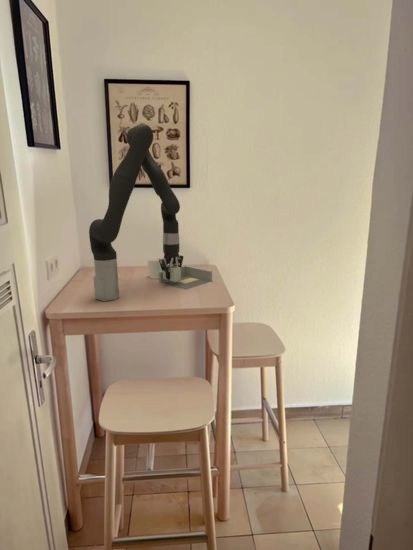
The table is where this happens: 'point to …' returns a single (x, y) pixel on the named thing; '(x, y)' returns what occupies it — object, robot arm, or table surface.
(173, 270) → the sage block
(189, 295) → the table surface
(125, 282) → the table surface
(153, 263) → the white cup
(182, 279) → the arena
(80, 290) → the table surface
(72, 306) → the table surface
